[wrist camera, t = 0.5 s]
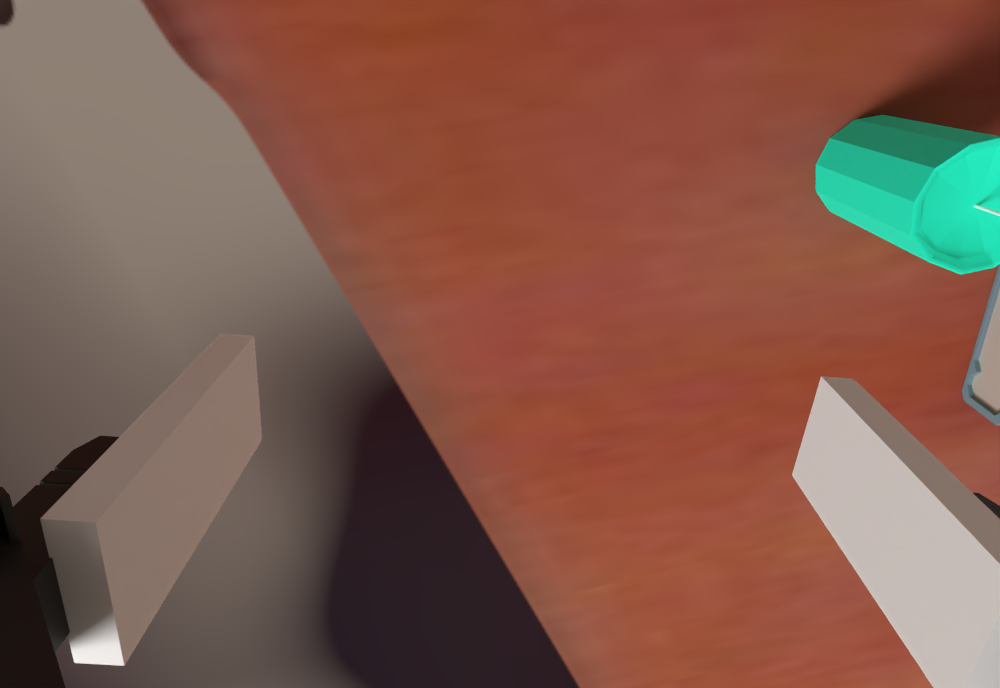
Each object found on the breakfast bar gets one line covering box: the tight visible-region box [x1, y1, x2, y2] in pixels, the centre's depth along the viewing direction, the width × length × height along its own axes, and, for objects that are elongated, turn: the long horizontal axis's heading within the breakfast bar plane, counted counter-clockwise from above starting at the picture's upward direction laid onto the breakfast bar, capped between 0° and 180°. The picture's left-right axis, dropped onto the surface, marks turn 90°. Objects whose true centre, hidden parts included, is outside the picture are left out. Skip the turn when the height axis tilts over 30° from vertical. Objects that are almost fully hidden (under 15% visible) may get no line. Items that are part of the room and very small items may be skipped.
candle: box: [816, 115, 1000, 274], centre depth 34 cm, size 6×6×12 cm
